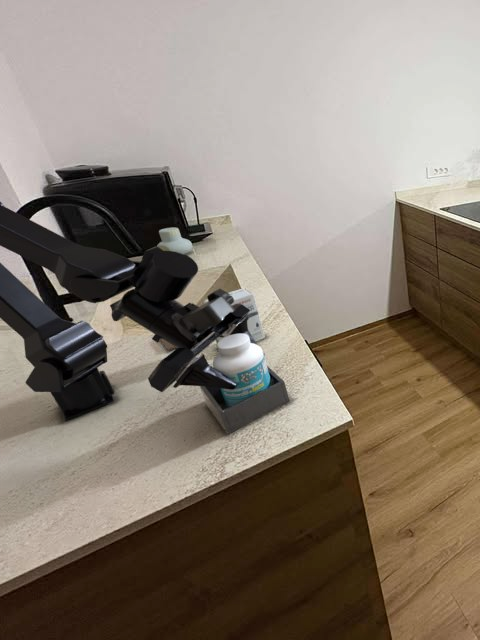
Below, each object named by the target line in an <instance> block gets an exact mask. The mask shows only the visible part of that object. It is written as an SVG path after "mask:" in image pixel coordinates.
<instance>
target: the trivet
mask: <svg viewBox="0 0 480 640" xmlns="http://www.w3.org/2000/svg"><path fill="white" fill-rule="evenodd" d="M160 342H161V343H162V344H163V345H164V346H165V348H166V350H167V351H168V352H172V351H175V350H176V349H177V348H176V347H175V346H173V345H172V344H170V343H168V342H167V341H165V340H164V339H162V340H161V341H160Z"/></svg>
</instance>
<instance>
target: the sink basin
mask: <svg viewBox="0 0 480 640" xmlns="http://www.w3.org/2000/svg"><path fill="white" fill-rule="evenodd" d="M267 368H268V372H269V375H270V379H271V382H272V386H270V387H268V388H266V389H264V390H262V391H260V392H258V393H256V394H254V395H252V396H250V397H248V398H246V399H244V400H242V401H240V402H238V403H236V404H234V405H232V406H230V407H228V408H227V407H225V408H222V407H221V406H220V403H222V402H223V401H224V402H225V400H224V397H223V394H222V391H221V388H214V387H205V386H199V388H200V391H201V393H202V396H203V398H204V402H205V403H206V406H207V408H208V409H209V411H210V412H211V414H212V415H213V416H214V417H215V419H216V420H217V422H218V423H219V424H220V426H221V428H222V429H223V430H224V432H225V433H226V434H227V435H230V434H232V433H233V432H235V431H237V430H239V429H241V428H243V427H244V426H246V425H248V424H250V423H252V422H254V421H255V420H257V419H259V418H261V417H263V416H264V415H267V414H268V413H270V412H272V411H274V410H276V409H278V408H279V407H282V406H283V405H285V404H287V403H289V402H290V397H289V393H288V390H287V385H286V383H285V382H286V381H284V380H283V378H281V377H280V376H279V375H278V374H277V373H276V372H275V371H273V370H272V368H271V367H269V366H268V365H267Z"/></svg>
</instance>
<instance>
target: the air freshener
mask: <svg viewBox="0 0 480 640" xmlns="http://www.w3.org/2000/svg"><path fill="white" fill-rule="evenodd" d="M158 234H159V236H160V239H161V241H159V243H158V244H157V246H156V247H159V248H161V249H162V250H163V251H174V252H178V253H181V254H183V255H187V254H188V253H189V252H191V251H192V250H193V243H192V241H190V240H189V239H187V238H183V237H182V235H181V232H180V229H179V228H178V227H166V228H162V229H159V230H158Z"/></svg>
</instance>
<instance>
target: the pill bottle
mask: <svg viewBox="0 0 480 640" xmlns="http://www.w3.org/2000/svg"><path fill="white" fill-rule="evenodd" d="M216 348H217V351H218V353H217V354H216V355H215V357H214V359H213V360H212V367H213V368H214V369H216V370H218V371H219V372H221V373H222V374H224V375H225V376H227V377H228V378H230V379H231V380H232V381H234V382H235V383H236V384H237V387H236V388H235V389H234V390H230V389H222V388H221V391H222V394H223V397H224V402H225V405H226V408H228V407H230V406H232V405H234V404H236V403H238V402H240V401H242V400H244V399H246V398H248V397H250V396H252V395H254V394H256V393H258V392H260V391H262V390H264V389H266V388H268V387H270V386H272V382H271V379H270V375H269V372H268V368H267V366H268V365H267V361H266V358H265V356H264V354H265V353H264V351H263V349H262V347H261V346H259V344H258V345H256V344H253V343H251V342H250V338H249V336H248V335H247V334H233V335H229V336H227V337H224V338H223V339H221V340H220V341H219V342H218V343H216ZM263 353H264V354H263Z"/></svg>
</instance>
